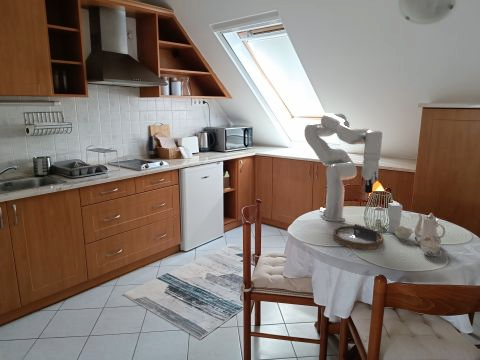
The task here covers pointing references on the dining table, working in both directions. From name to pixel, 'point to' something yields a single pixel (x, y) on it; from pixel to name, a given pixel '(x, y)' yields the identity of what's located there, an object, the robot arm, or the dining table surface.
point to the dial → (359, 234)
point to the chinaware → (424, 234)
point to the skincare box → (394, 215)
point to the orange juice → (377, 187)
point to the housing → (357, 244)
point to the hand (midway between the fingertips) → (368, 192)
